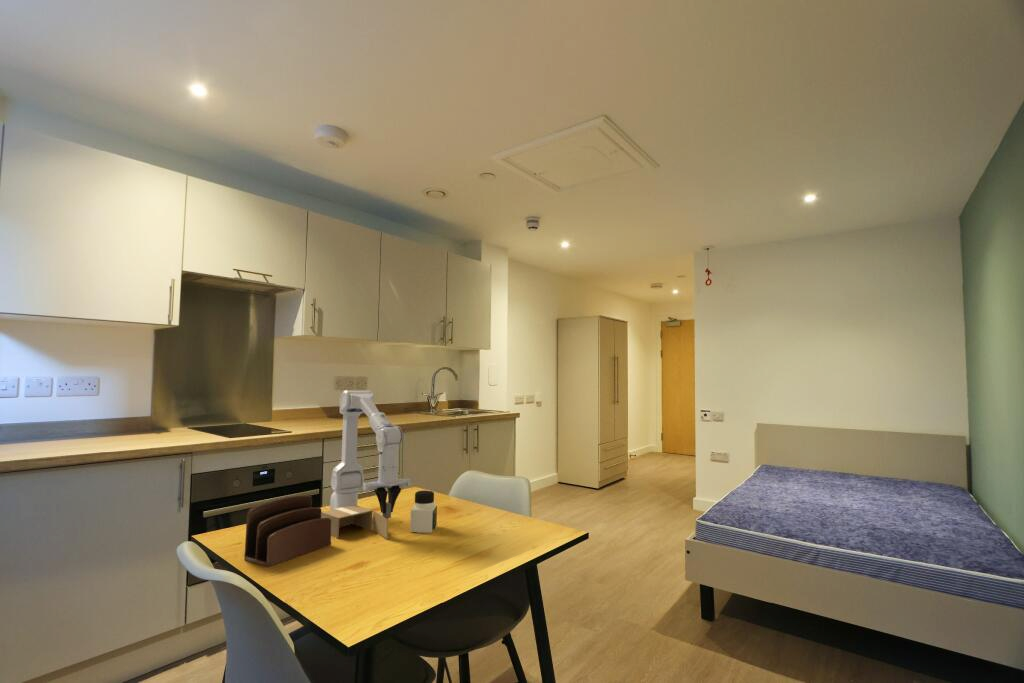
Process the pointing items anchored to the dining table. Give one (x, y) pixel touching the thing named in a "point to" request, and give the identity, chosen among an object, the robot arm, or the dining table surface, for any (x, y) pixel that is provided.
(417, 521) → the medicine bottle
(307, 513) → the letter holder
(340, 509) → the carton
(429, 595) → the dining table surface
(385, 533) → the side flap
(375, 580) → the dining table surface
